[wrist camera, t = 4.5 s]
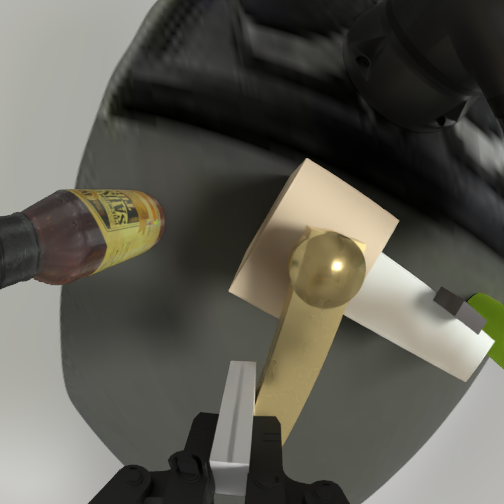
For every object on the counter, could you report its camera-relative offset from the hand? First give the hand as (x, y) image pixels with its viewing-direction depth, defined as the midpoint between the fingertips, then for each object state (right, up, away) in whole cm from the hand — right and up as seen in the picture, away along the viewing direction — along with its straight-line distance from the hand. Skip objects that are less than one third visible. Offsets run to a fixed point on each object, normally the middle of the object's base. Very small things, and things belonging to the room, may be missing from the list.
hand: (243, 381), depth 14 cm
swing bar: (+2, +2, 0) cm, 3 cm away
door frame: (+11, +6, +12) cm, 17 cm away
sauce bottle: (-11, +10, +13) cm, 20 cm away
